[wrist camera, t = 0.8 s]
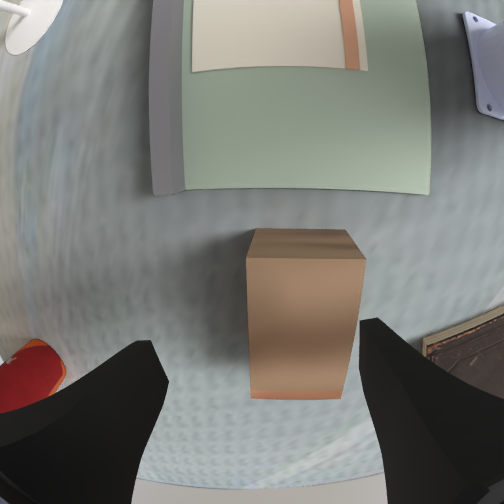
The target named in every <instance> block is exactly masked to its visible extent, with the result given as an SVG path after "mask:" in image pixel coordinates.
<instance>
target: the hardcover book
mask: <svg viewBox="0 0 504 504" xmlns="http://www.w3.org/2000/svg"><path fill="white" fill-rule="evenodd" d="M422 355H423V356H425V357H426V358H427V359H429V360H430V361H432V362H433V363H435V364H436V365H437V366H439V367H440V368H442V369H444V370H445V371H447V372H448V373H450V374H452V375H454V376H455V377H457V378H459V379H461V380H462V381H464V382H466V383H468V384H470V385H472V386H474V387H476V388H478V389H481V390H483V391H485V392H487V393H490V394H492V395H494V396H497V397H500V398H503V399H504V305H502V306H500V307H498V308H496V309H494V310H491V311H489V312H487V313H485V314H483V315H480V316H478V317H476V318H473V319H471V320H468V321H466V322H464V323H461V324H459V325H456V326H454V327H451V328H448V329H446V330H443V331H440V332H438V333H435V334H432V335H429V336H427V337H424V338H423V347H422Z"/></svg>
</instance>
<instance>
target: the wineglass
mask: <svg viewBox="0 0 504 504" xmlns="http://www.w3.org/2000/svg"><path fill="white" fill-rule="evenodd" d="M62 2H63V0H22V1H21V3H20V4H19V5H16V4H12V3H9V2H6V1H2V0H0V10H2V11H6V12H9V13H13V16H12V18H11V20H10V22H9V25H8V29H7V32H6V40H5V44H6V48H7V51H8V52H9V53H10V54H12V55H19V54H21V53H23V52H26V51H27V50H28V49H29V48H31V47H32V46H33V45H35V44H36V43H37V41H38V40H39V39H40V38H41V37H42V36H43V35H44V34H45V32H46V31H47V29H48V28H49V27H50V25H51V24H52V22H53V21H54V19H55V17H56V15H57V13H58V12H59V10H60V8H61V5H62Z"/></svg>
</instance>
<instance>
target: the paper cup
mask: <svg viewBox="0 0 504 504" xmlns="http://www.w3.org/2000/svg"><path fill="white" fill-rule="evenodd" d="M65 376H66V368H65V366H64V363H63V362H62V360H61V358H60V357H59V355H58V354H57V353H56V352H55V351H54V350H53V349H52V348H51V347H50V346H49V345H48V344H47V343H45V342H43V341H42V340H39V339H34V340H32V341H30V342H29V343H28V344H26V345H25V346H24V347H22V348H21V349H20V350H19V351H17V352H16V353H15V354H14V355H12V356H11V357H10V358H9V359H8V360H6V361H5V362H4V363H3V364H2V365H1V366H0V413H5V412H8V411H12V410H15V409H19V408H22V407H25V406H27V405H30V404H32V403H35V402H37V401H40V400H42V399H44V398H47V397H49V396H51V395H53V394H54V393H55V392H56V390H57V389H58V387H59V386H60V384H61V383H62V381H63V380H64V378H65Z"/></svg>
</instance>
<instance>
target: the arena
mask: <svg viewBox="0 0 504 504" xmlns="http://www.w3.org/2000/svg"><path fill="white" fill-rule="evenodd" d="M149 133H150V156H151V173H152V187H153V196H165V195H175V194H177V193H179V192H181V191H184V190H192V189H221V188H317V189H347V190H367V191H384V192H399V193H412V194H423V195H429V187H430V170H431V109H430V92H429V80H428V70H427V61H426V54H425V47H424V40H423V34H422V29H421V23H420V18H419V13H418V9H417V4H416V0H153V9H152V22H151V37H150V58H149Z"/></svg>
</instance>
